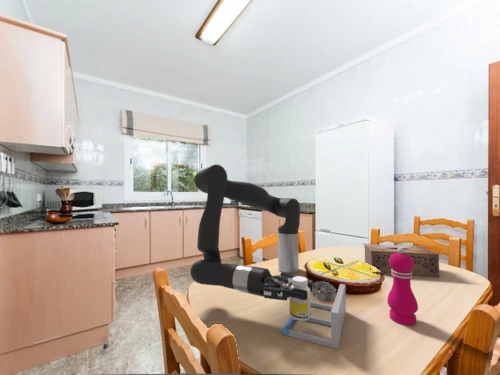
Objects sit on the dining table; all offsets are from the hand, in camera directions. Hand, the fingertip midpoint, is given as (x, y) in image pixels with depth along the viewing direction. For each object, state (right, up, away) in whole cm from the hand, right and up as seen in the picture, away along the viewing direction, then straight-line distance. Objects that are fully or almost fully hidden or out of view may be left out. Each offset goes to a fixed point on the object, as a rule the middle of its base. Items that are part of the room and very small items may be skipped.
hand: (309, 291), depth 62 cm
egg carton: (+10, -11, +22) cm, 26 cm away
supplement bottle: (-2, -7, +1) cm, 8 cm away
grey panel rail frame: (+3, -10, +4) cm, 11 cm away
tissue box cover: (+53, -12, +48) cm, 72 cm away
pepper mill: (+27, -10, +5) cm, 29 cm away
